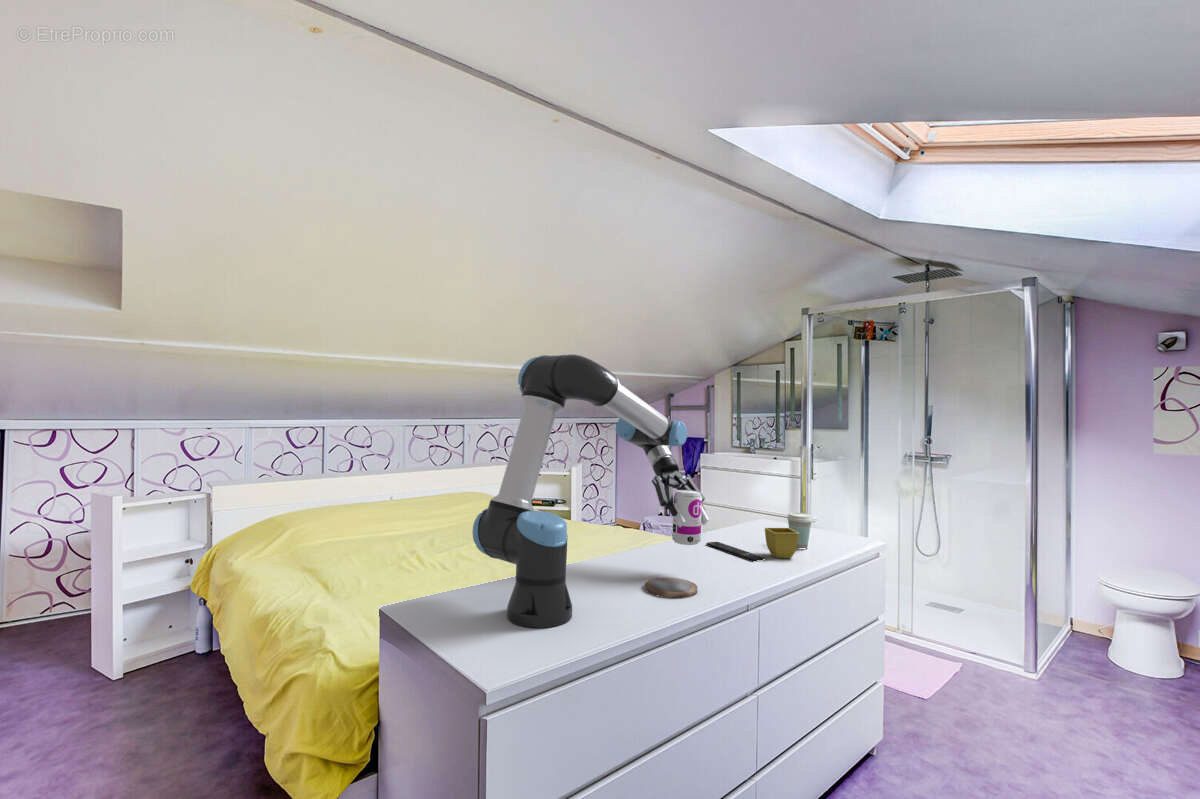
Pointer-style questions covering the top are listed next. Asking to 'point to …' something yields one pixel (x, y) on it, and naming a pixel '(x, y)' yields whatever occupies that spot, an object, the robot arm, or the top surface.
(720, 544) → the remote control
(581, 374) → the robot arm
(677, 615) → the top surface
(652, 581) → the walnut pad
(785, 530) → the flower pot
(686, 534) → the supplement can
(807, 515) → the coffee cup
